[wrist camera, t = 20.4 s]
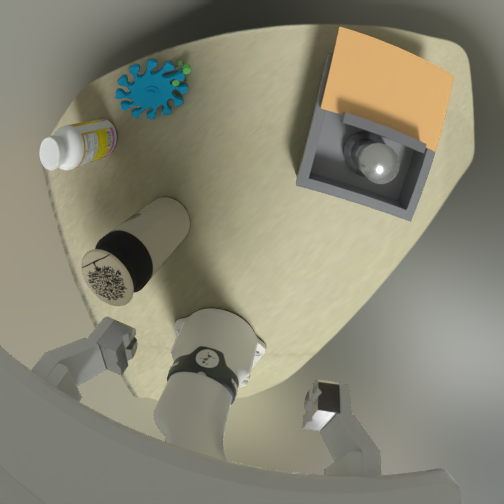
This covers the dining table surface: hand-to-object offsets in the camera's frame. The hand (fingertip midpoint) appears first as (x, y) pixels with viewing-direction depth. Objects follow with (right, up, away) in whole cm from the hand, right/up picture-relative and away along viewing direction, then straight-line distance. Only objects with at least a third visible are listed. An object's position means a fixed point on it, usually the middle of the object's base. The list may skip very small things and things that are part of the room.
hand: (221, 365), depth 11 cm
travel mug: (-12, +10, +33) cm, 37 cm away
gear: (-11, +28, +23) cm, 38 cm away
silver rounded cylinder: (+16, +18, +22) cm, 33 cm away
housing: (+17, +20, +22) cm, 34 cm away
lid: (+17, +23, +14) cm, 32 cm away
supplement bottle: (-23, +24, +28) cm, 43 cm away
